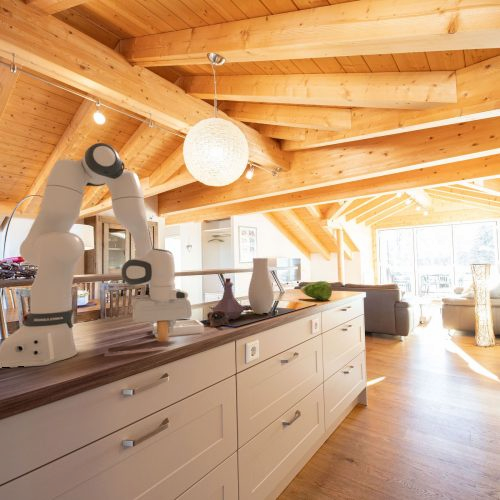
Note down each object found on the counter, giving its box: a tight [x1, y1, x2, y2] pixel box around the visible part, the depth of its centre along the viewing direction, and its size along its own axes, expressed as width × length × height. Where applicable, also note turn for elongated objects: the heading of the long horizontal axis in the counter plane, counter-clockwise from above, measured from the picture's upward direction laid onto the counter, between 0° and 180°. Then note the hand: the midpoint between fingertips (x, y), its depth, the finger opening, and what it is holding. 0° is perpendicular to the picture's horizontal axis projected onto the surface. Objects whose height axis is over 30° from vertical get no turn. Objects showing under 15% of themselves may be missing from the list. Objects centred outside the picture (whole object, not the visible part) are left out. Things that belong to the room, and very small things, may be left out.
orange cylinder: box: [156, 320, 170, 343], centre depth 116 cm, size 4×4×8 cm
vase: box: [247, 257, 275, 315], centre depth 176 cm, size 14×14×30 cm
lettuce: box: [300, 280, 333, 301], centre depth 233 cm, size 14×23×13 cm, turn 48°
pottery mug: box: [206, 310, 229, 328], centre depth 143 cm, size 12×10×8 cm
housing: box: [153, 319, 205, 338], centre depth 129 cm, size 18×13×4 cm
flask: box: [211, 277, 246, 321], centre depth 164 cm, size 16×16×20 cm
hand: (162, 333), depth 116 cm, fingers closed on orange cylinder, 4 cm apart
